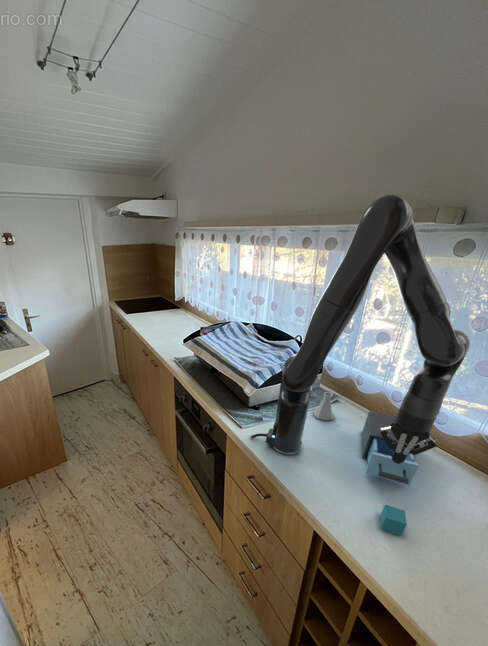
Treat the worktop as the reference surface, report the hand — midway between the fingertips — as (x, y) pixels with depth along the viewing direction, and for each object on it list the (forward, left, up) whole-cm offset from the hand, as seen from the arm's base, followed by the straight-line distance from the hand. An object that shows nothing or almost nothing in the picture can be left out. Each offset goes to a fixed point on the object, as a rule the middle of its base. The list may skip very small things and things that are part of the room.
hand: (396, 461), depth 84 cm
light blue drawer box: (0, +7, -9) cm, 11 cm away
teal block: (0, -14, -10) cm, 17 cm away
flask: (-20, +31, -10) cm, 38 cm away
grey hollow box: (0, +18, -10) cm, 21 cm away
